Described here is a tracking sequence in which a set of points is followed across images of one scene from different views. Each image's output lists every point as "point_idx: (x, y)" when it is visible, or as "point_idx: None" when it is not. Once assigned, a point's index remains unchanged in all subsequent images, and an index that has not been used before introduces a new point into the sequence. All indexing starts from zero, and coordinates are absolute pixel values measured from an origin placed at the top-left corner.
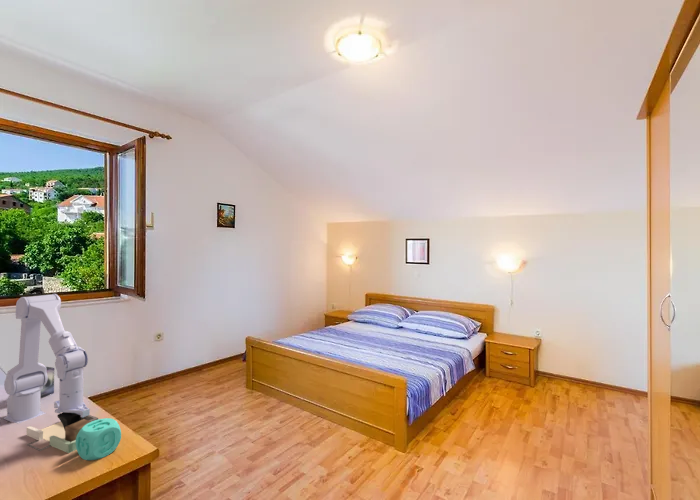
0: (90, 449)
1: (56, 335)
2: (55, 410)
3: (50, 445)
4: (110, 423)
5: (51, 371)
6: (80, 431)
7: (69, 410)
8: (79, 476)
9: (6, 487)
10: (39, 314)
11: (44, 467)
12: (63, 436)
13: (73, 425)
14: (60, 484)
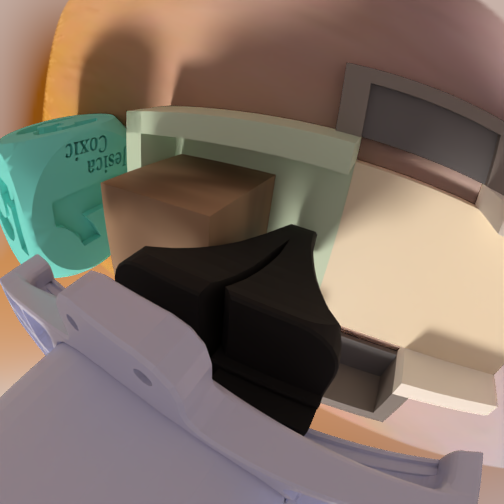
0: (37, 124)
1: None
2: (123, 345)
3: (349, 134)
4: (6, 231)
5: None
6: (10, 146)
7: (37, 311)
8: (63, 64)
9: None
10: None
11: (178, 7)
12: (368, 247)
13: (171, 244)
14: (73, 21)
